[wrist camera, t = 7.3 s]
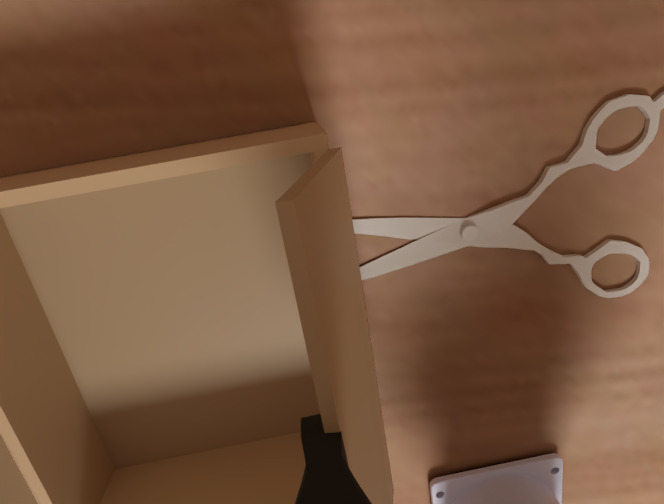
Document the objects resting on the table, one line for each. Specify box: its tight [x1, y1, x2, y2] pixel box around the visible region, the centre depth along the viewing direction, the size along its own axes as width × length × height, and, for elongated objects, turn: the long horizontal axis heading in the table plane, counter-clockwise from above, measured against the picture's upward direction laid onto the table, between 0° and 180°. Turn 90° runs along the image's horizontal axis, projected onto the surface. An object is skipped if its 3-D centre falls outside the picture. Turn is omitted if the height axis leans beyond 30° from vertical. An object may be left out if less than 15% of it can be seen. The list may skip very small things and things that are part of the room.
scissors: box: [352, 91, 664, 298], centre depth 21 cm, size 11×1×20 cm
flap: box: [275, 148, 394, 504], centre depth 14 cm, size 15×6×1 cm
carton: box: [0, 121, 329, 504], centre depth 19 cm, size 16×14×5 cm
